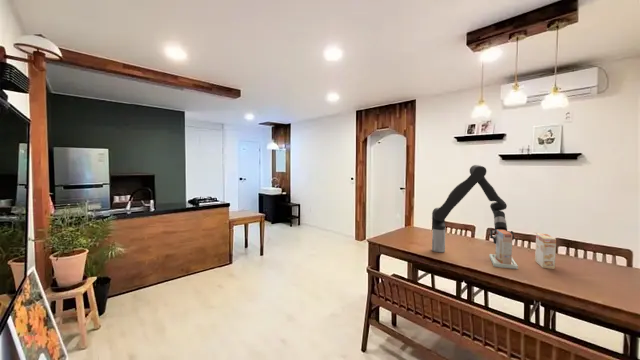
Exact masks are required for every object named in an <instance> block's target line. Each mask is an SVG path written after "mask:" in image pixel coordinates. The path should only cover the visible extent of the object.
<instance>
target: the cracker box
mask: <svg viewBox="0 0 640 360" xmlns="http://www.w3.org/2000/svg"><path fill="white" fill-rule="evenodd" d="M509 232H510V231H508V230H507V231H506V230H499V229H497V230H496V234H497V236H496V244H495V258H496V259H497V260H498V261H499V262H500V263H501V264H510V265H511V259H512V258H513V240H512V238H513V235H514V233H513V234H511V233H509Z"/></svg>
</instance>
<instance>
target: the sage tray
mask: <svg viewBox="0 0 640 360" xmlns="http://www.w3.org/2000/svg"><path fill="white" fill-rule="evenodd" d="M488 257H489V259H490V261H491V263H492V266H493V267H494V268H501V269H502V268H503V269H504V268H505V269H511V270H513V269H514V270H518V269H519V265H518V264H517V262H516V261H515V260H514V258H513V257H512V259H511V265H510V264H501V263H500V262H499V261H498V260H497V259H496V258H495V254H492V253H489V255H488Z"/></svg>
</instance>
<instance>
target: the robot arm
mask: <svg viewBox="0 0 640 360" xmlns="http://www.w3.org/2000/svg"><path fill="white" fill-rule="evenodd" d="M469 174H470V175H469V176H468V177H467V178H466V179H465V180H463V181H462V182H460V183H459V184H458V185H456V186H455V187H454V188H453V189H452V191H450V192H449V194H448V196H447V198H446V200H445V201H444V203H442V205H440V207H435V208H434V209H433V210H432V213H431V215H432V216H431V222H432V223H431V226H432V234H431V236H432V238H431V252H435V253H445V252H446V218H447V217H448V216H449V214H450V213H451V211H452V210H454V208H455V207H456V206H457V205H458V204H459V203H460V202H461V201H462V200H463V199H465V197H466V196H467V195H468V193H469V192H470V191H471V190H472V189H473V188H474V187H475V185H477V184H478V185H479V187H480V188H481V189H482V191H483V193H484V195H485V196H486V198H487V200H488V201H489V202H492V203H490V206H489V207H490V210H491V211H492V214H493V219H494V220H493V222H494V223H493V225H494V230H493V229H490V230H489V233H490V234H489V238H490V239H493V243H494V244H495V245H496V236H497V234H496V230H497V229H499V230H506V231H508V225H507V220H506V213H505V212H504V210H506V209H507V206H508V204H507V203H506V202H505V201H504V200H503V199H502V198H501V197H500V196H499V195H498V193H497V192H496V190H495V188H494V187H493V185H491V183H489V181H488V180H487V178H486V177H485V176H486V174H487V168H486V167H485V166H482V165H479V164H473V165H472V166H471V167H469ZM508 232H509V233H511V234H513V238H512V241H514V240H515V236H514V235H515V234H514V231H513V230H511V231H508ZM493 234H494V235H493Z"/></svg>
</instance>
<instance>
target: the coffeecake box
mask: <svg viewBox="0 0 640 360" xmlns="http://www.w3.org/2000/svg"><path fill="white" fill-rule="evenodd" d="M556 247H557V239H556V238H555V237H554V236H551V235H550V234H548V233H536V234H535V253H534V262H536V263H537V264H538V265H539V266H540V267H541V268H542V269H550V270H551V269H553V270H556V249H557V248H556Z"/></svg>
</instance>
